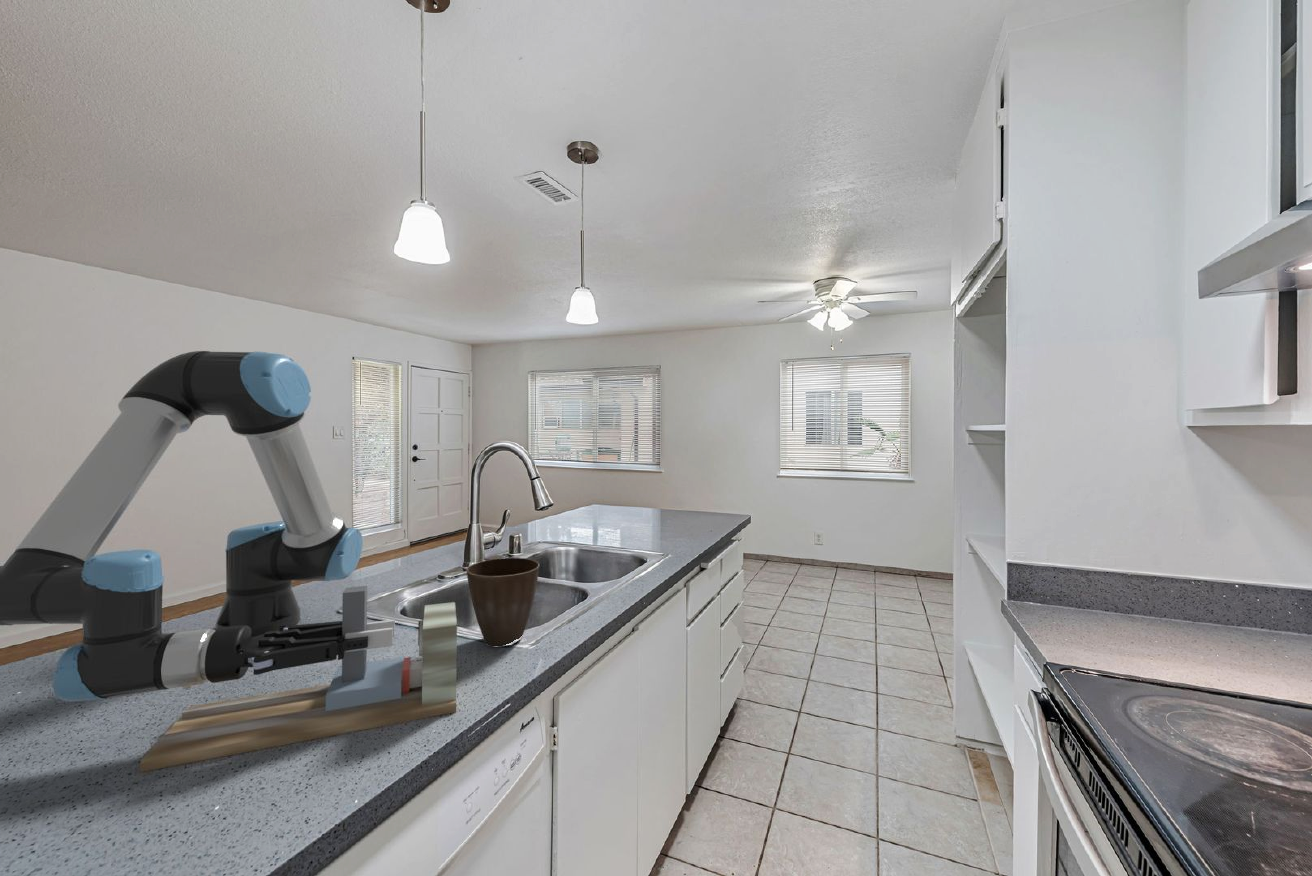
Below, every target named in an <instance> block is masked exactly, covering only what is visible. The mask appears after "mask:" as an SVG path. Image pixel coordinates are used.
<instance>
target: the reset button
mask: <svg viewBox="0 0 1312 876" xmlns="http://www.w3.org/2000/svg"><path fill="white" fill-rule="evenodd" d="M411 660H412V656H410V657H409V656H408V657H405V658H404V663H403V669H402V694H404V693H409V689H410V688H415V687H421V686H422V660H418V661H411Z"/></svg>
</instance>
